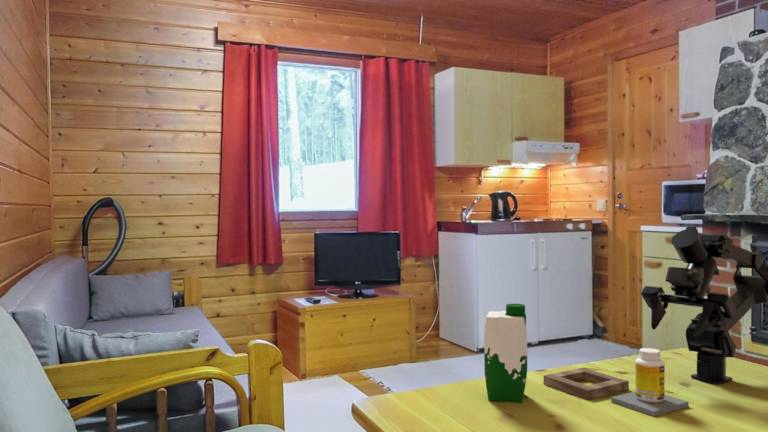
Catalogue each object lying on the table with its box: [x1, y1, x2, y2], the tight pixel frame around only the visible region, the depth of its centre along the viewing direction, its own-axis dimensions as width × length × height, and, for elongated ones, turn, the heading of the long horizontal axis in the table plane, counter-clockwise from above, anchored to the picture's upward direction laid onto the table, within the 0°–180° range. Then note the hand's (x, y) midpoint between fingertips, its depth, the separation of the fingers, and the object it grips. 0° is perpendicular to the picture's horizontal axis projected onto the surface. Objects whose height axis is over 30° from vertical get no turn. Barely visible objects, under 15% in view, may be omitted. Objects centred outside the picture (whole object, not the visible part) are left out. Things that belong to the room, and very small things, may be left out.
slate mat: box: [610, 391, 689, 417], centre depth 122 cm, size 11×10×1 cm
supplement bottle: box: [634, 347, 666, 403], centre depth 122 cm, size 6×6×10 cm
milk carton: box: [483, 303, 528, 404], centre depth 127 cm, size 9×9×20 cm
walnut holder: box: [543, 367, 630, 401], centre depth 134 cm, size 13×13×2 cm
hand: (673, 331), depth 128 cm, fingers open, 9 cm apart
